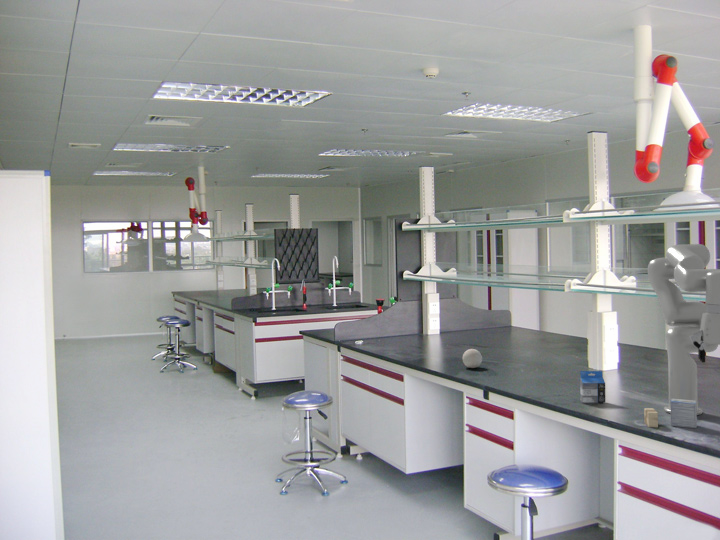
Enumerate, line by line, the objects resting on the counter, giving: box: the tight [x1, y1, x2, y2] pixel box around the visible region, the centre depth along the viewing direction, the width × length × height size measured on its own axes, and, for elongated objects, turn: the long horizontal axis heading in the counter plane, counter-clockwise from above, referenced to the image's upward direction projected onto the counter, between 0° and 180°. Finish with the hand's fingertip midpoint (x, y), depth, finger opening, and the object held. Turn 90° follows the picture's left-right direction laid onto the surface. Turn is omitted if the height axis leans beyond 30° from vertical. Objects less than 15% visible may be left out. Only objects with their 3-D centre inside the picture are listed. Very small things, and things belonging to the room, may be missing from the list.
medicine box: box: [669, 399, 698, 429], centre depth 220 cm, size 8×4×9 cm, turn 59°
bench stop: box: [643, 407, 659, 428], centre depth 222 cm, size 6×3×5 cm, turn 169°
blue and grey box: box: [579, 370, 606, 404], centre depth 255 cm, size 9×4×12 cm, turn 84°
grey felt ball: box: [462, 348, 483, 369], centre depth 335 cm, size 10×10×10 cm
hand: (718, 361), depth 208 cm, fingers open, 9 cm apart
